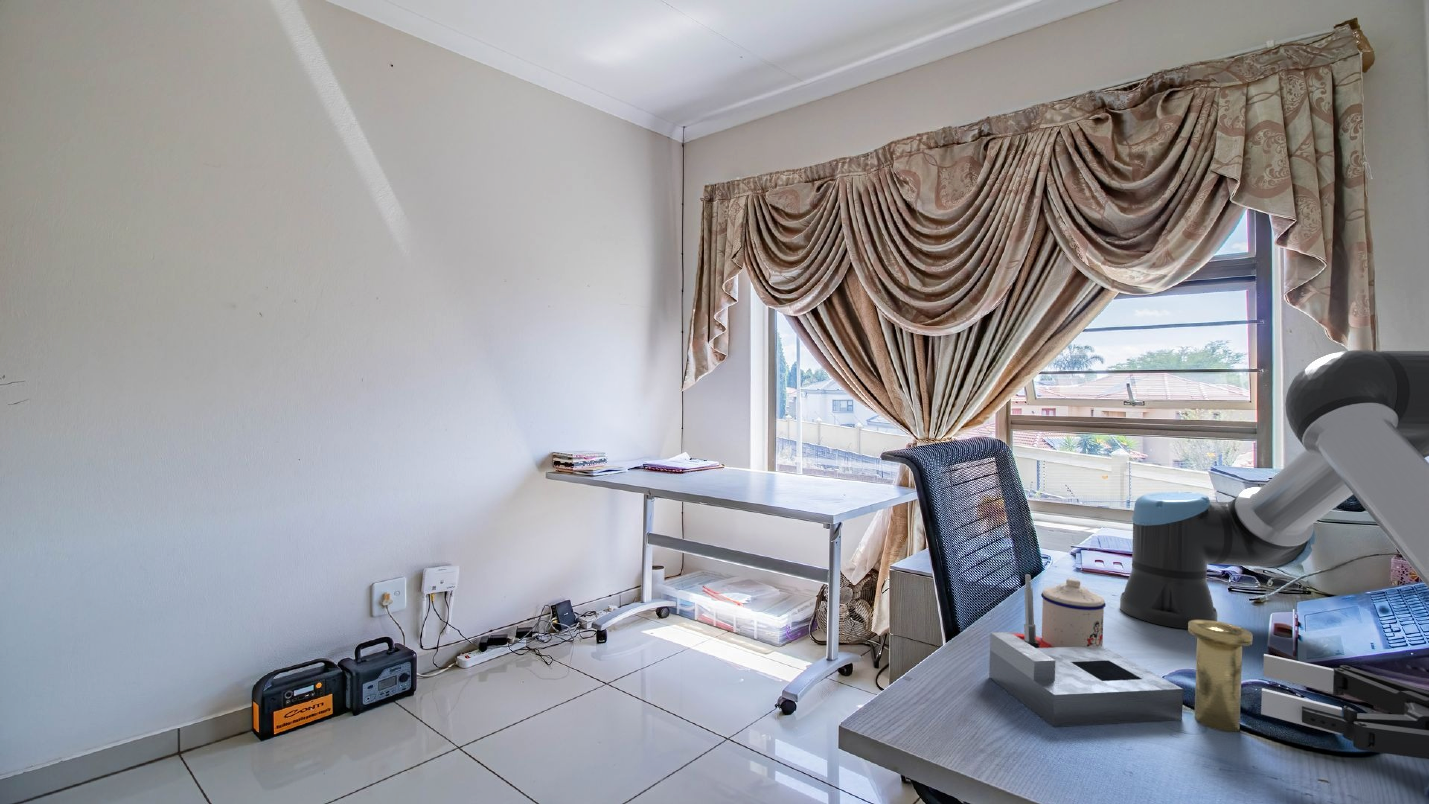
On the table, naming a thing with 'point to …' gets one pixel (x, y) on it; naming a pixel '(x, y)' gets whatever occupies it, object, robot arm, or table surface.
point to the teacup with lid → (1072, 616)
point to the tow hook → (1030, 619)
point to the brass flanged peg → (1218, 673)
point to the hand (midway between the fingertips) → (1262, 681)
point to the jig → (1081, 684)
